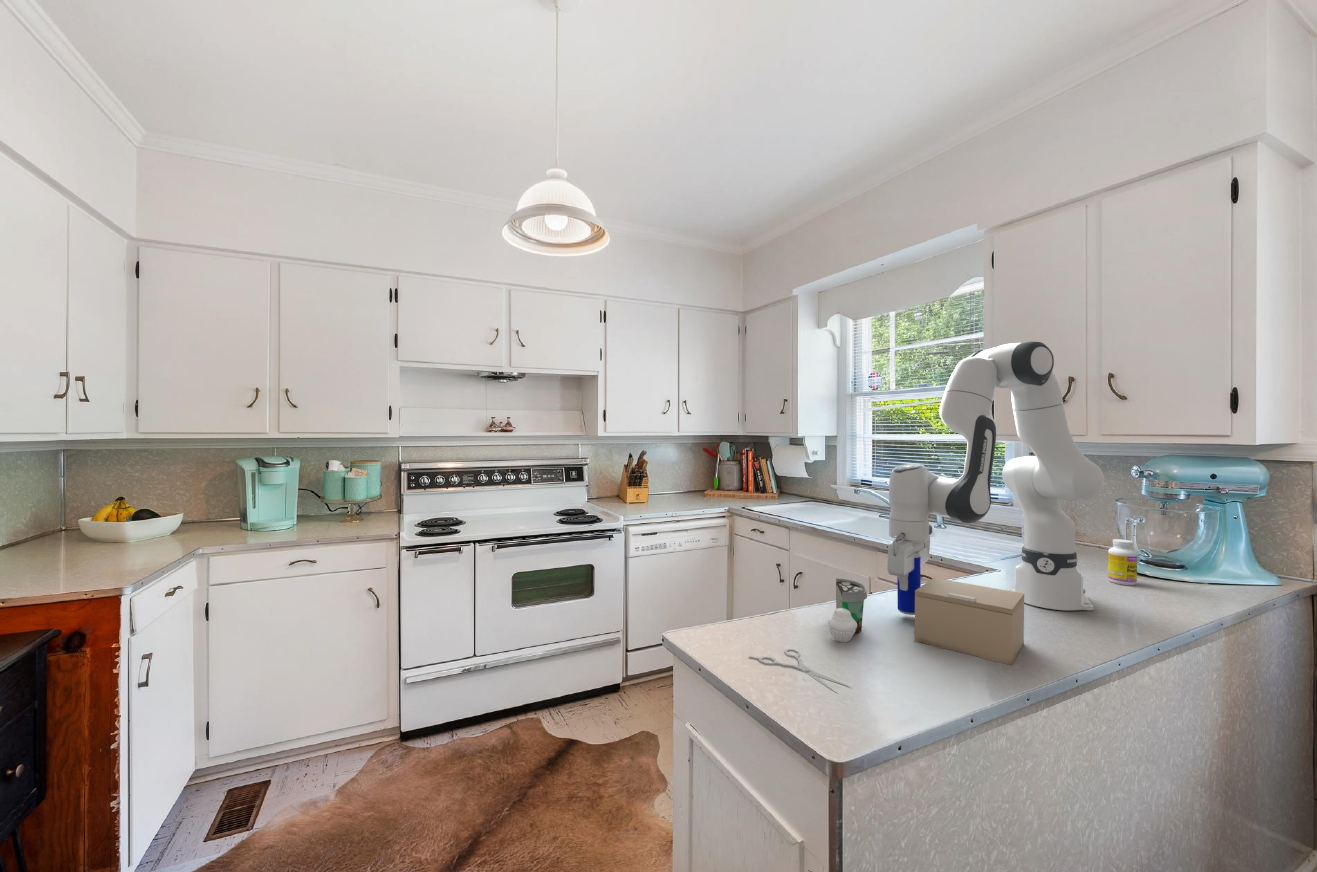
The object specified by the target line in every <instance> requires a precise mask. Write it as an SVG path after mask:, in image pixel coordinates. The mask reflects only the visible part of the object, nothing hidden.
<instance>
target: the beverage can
mask: <svg viewBox="0 0 1317 872" xmlns="http://www.w3.org/2000/svg"><path fill="white" fill-rule="evenodd" d="M913 554H914V570H912V571H911V572H909V573H908V582H909V589H908V590H906V591H905V590H901V589H900V582H899V580H898V577H897V576H896V579H897V584H896V585H897V610H898V612H900V613H901V614H904V615H909V616H915V590H917V589H918V588H920V587H921V586H922V584H921V580H922V579H921V565H920V554H919V552H918V551H917V553H913Z"/></svg>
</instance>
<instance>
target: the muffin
mask: <svg viewBox="0 0 1317 872" xmlns="http://www.w3.org/2000/svg"><path fill="white" fill-rule="evenodd" d="M827 625H828V628H829V631H830V632H831V635H832V636H833V638H834V640H835V641H837V642H840V643H848V642H850V641H851V639H852V638H853V636H855V634H854V633H855V631H856V628H857V623H856V621H855V620H854V619H853V618H852V616H851V613H850V611H849V610H847V609H844V608H838V609H834V610H833V614H832V615H831V616H830V617H829V618H828V619H827Z"/></svg>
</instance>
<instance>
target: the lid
mask: <svg viewBox="0 0 1317 872" xmlns="http://www.w3.org/2000/svg"><path fill="white" fill-rule="evenodd" d="M915 595H917V596H922V597H927V598H932V599H937V600H942V601H947V602H952V603H957V604H962V605H967V606H972V607H977V608H982V609H987V610H992V611H998V612H1003V613H1008V614H1013V612H1014V611H1015V610H1016V608H1017V607H1018V606H1019V604H1020V603H1021V602H1022V600H1023V599H1024V593H1019V592H1013V591H1009V590H1007V589H1002V588H995V587H989V586H985V585H984V586H983V585H979V584H972V583H967V582H961V581H955V580H949V579H943V578H938V577H933V578H931V579H930V580H928V581H926V583H924V584H922V585H921V587H920V588H918V589H917V590H915Z"/></svg>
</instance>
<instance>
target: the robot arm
mask: <svg viewBox="0 0 1317 872" xmlns="http://www.w3.org/2000/svg"><path fill="white" fill-rule="evenodd" d="M1054 365H1055V359H1054V355H1053V352H1052V350H1051V349H1050V348H1049V347H1048V346H1047V345H1046V344H1045V343H1044V342H1041V341H1036V340H1035V341H1033V340H1032V341H1031V340H1027V341H1026V340H1025V341H1021V342H1013V343H1006V344H1001V345H998V346H996V347H995V346H994V347H991V348H988V349H982V350H978V351H975V352H973V353H972V354H970V355H969V356H967V357H966V358H962V359H961V360H960V361H959V362H958V363H957V364H956V366H955V368H954V370H953V372H952V373H951V375H950V377H949V379H948V382H947V384H946V386H945V389H944V391H943V396H942V399H941V402H940V406H939V417H940V418H941V422H943V424H944V426H946V427H947V428H948V429H950V430H952V431H953V432H955V433H957V434H959V435H961V436H963V438H964V439H965V440H966V443H967V445H966V446H967V448H966V454H965V459H964V468H963V473H962V475H961V476H960V477H959V478H952V477H945V476H940V475H938V474H935V473H933V472H931V471H930V470H928V469H927V468H926V466H925V465H923V464H921V463H905V464H900V465H897V466H896V467H894V468H893V469H892V471H891V473H890V477H889V485H888V501H889V505H890V512H889V516H888V534H889V535H888V536H889V537H890V538H892V539H893V541H891V542H890V543H889V545H888V548H887V549H888V551H887V561H886V562H887V565H886V567H887V569H886V570H887V573H888V575H890V576H895V577H896V578H897V577H898V580H899V582H900V589H901V590H905V591H906V590H908V589H909V582H908V573H909V572H911V571H912V570H914V554H913V553H917V551H918V552H919V554H920V566H922V565H923V564H925V563H927V562H928V560H929V558H930V557H929V556H930V551H931V549H930V548H931V535H932V534H933V526H932V525H931V524H929V514H931V515H935V516H938V517H944V518H948V519H952V520H955V521H959V522H961V523H964V524H975V523H977V522H978V521H980V520H982V519H983V518H984V517H985V516H986V515H987V514H988V512H989V510H990V508H991V505H992V494H991V481H992V472H993V466H994V465H993V464H994V457H995V449H996V441H997V427H996V423H995V421H994V420H993V419H991V409H992V405H993V402H994V397H995V392H996V389H1005V388H1006V389H1008V390H1010V392H1011V394H1010V395H1011V405H1012V410H1013V417H1014V424H1015V425H1014V426H1015V429H1016V434H1017V435H1016V436H1017V437H1018V439H1019V440H1020V442H1021V443H1023V444H1025V445H1026V446H1028V448H1030V450H1031V451H1032V452H1033V454H1034V455H1025V456H1019V457H1015V458H1011V459H1009V460H1008V461H1007V462H1005V465H1004V466H1003V468H1002V471H1001V473H1002V474H1001V477H1002V482H1003V483H1004V485H1005V486H1006V488H1008V489H1009V490H1010V492H1012V493H1013V495H1014V497H1015V499H1016V501H1017V503H1018V505H1019V508H1020V511H1021V515H1022V520H1023V546H1022V548H1021V552H1020V553H1021V563H1019V564H1017V566H1015V567H1014V584H1013V585H1014V586H1013V588H1011V589H1009V590H1008V591H1013V592H1019V593H1024V604H1027V605H1030V606H1034V607H1040V608H1044V609H1050V610H1058V611H1094V605H1093V604H1092V602H1091V600H1090V599H1089V598H1088V596H1087V594H1086V590H1085V588H1084V576H1083V575H1082V574H1081V572H1079V571H1078V570H1077V568H1076V567H1077V566H1078V557H1077V556H1078V555H1077V552H1076V548H1075V547H1076V526H1075V525H1076V524H1075V523H1074V521H1073V519H1072V518H1071V517H1070V516H1069V515H1068V514H1067V513H1065V511H1063V509H1062V506H1061V505H1060V501H1059V500H1061V501H1066V502H1067V501H1068V502H1075V501H1076V502H1077V501H1079V502H1080V501H1090V500H1094V499H1096V498H1097V497H1098V496H1099V495H1100V494H1101V492H1102V491H1103V490H1104V487H1105V476H1104V473H1103V471H1102V469H1101V467H1099V465H1098V464H1096V463H1094V462H1093V461H1091V460H1090V459H1089V458H1088V457H1086V456H1085V455H1084V453H1083V452H1082V451H1081V450H1080V449H1079V448H1080V447H1078V445H1077V444H1076V443H1075V441H1074V439H1073V437H1072V435H1071V432H1070V429H1069V425H1068V422H1067V416H1066V412H1065V405H1064V402H1063V401H1064V399H1063V396H1062V391H1061V388H1060V385H1059V383H1058V380H1057V377H1056V375H1055V373H1054V371H1053V369H1054Z"/></svg>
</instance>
